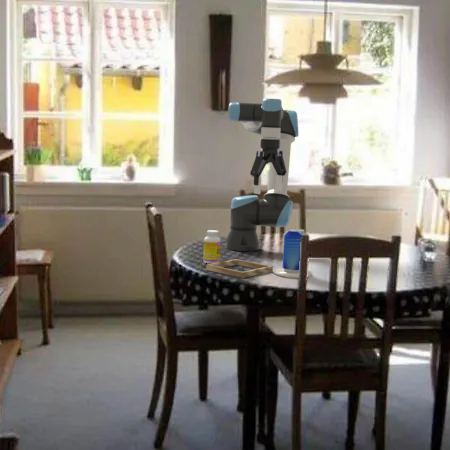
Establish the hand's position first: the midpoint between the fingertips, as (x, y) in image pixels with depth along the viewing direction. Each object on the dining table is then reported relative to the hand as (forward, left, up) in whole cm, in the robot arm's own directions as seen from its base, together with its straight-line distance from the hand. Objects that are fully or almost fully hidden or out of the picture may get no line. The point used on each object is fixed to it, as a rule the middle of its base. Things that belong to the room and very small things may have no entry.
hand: (267, 192), depth 313 cm
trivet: (+7, +19, -29) cm, 35 cm away
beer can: (+7, +19, -28) cm, 34 cm away
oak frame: (+18, +2, -29) cm, 34 cm away
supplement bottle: (+15, -15, -29) cm, 36 cm away
